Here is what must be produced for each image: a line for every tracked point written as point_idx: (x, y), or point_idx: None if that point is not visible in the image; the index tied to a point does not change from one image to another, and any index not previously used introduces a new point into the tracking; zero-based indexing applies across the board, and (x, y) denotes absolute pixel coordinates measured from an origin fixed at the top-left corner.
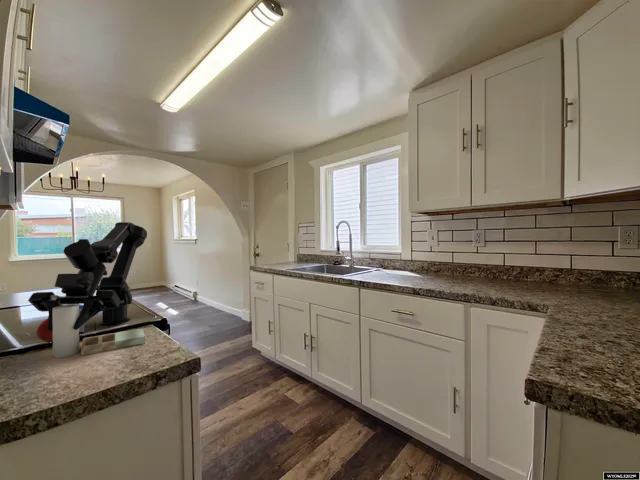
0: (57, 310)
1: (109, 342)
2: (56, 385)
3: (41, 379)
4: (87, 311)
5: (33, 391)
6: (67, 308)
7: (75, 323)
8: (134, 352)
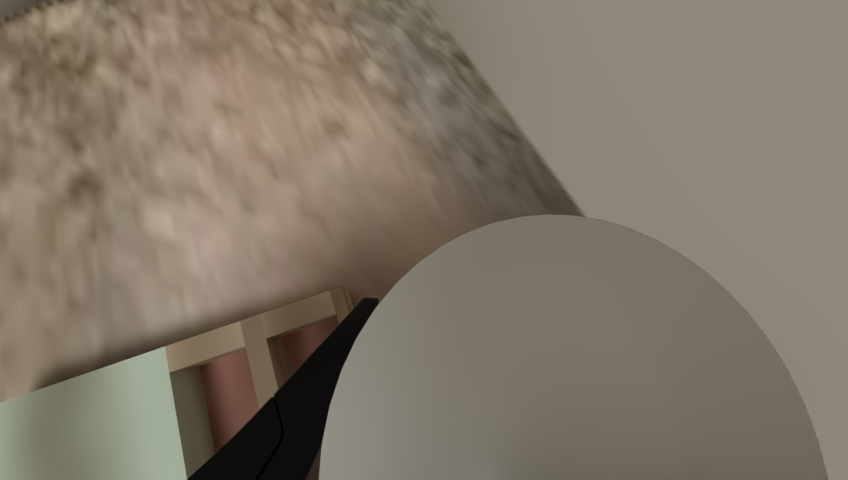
0: (596, 223)
1: (198, 339)
2: (324, 36)
3: (397, 93)
4: (210, 476)
5: (375, 20)
6: (465, 279)
7: (366, 319)
8: (86, 258)
